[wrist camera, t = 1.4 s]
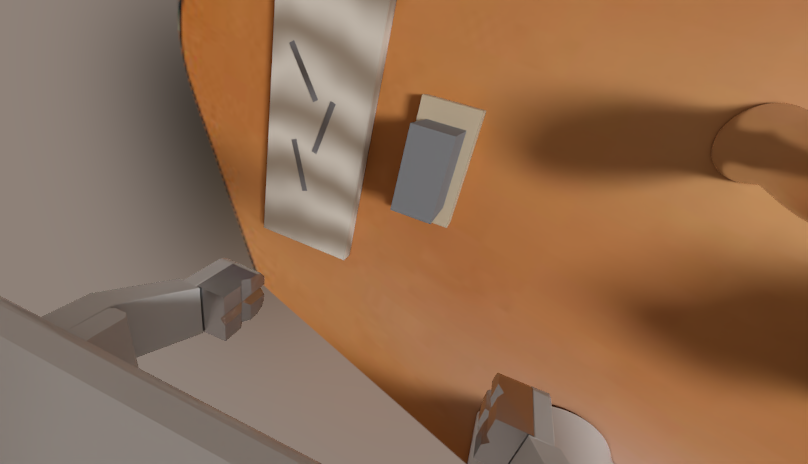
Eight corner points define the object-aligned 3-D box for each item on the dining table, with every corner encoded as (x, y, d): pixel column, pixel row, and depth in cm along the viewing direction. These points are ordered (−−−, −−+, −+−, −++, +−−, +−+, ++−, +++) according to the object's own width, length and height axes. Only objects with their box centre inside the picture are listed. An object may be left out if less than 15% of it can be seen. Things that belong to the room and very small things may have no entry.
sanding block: (450, 221, 37) (434, 246, 31) (401, 203, 39) (376, 224, 32) (486, 110, 32) (476, 114, 26) (428, 94, 33) (404, 94, 27)
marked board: (349, 255, 43) (343, 260, 42) (271, 223, 46) (263, 227, 44) (401, -26, 30) (394, -32, 29) (287, -49, 32) (276, -56, 31)
